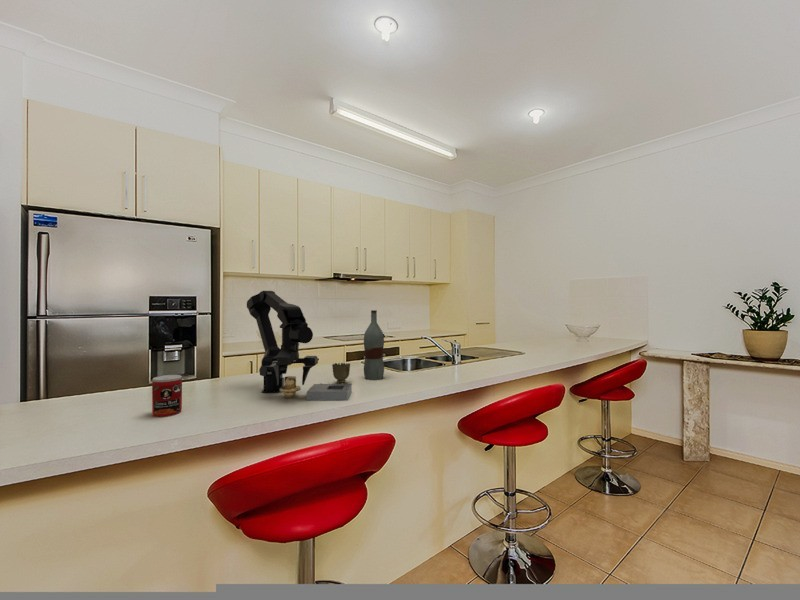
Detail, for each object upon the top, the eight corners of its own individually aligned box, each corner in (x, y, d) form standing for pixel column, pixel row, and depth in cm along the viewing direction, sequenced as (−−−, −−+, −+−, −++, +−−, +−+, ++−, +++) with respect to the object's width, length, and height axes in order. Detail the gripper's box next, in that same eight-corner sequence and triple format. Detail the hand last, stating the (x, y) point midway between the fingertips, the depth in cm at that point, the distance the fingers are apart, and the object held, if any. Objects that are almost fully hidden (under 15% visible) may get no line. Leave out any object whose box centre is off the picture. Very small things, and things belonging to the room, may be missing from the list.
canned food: (150, 418, 108) (150, 380, 108) (153, 411, 115) (154, 376, 115) (181, 415, 112) (181, 378, 112) (182, 408, 119) (182, 373, 119)
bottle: (362, 376, 169) (362, 310, 169) (381, 375, 171) (381, 310, 171) (365, 380, 160) (365, 310, 160) (386, 379, 162) (386, 310, 162)
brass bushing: (276, 399, 129) (276, 379, 129) (283, 394, 137) (283, 375, 137) (297, 399, 130) (297, 379, 130) (302, 394, 137) (302, 375, 137)
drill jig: (306, 400, 128) (306, 391, 128) (314, 391, 140) (314, 383, 140) (347, 400, 128) (347, 391, 128) (351, 391, 140) (351, 383, 140)
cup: (348, 385, 151) (348, 365, 151) (330, 385, 152) (330, 365, 152) (351, 381, 159) (351, 362, 159) (334, 381, 159) (334, 362, 159)
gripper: (255, 343, 125) (255, 390, 125) (311, 343, 125) (311, 390, 125) (267, 340, 136) (266, 383, 136) (318, 340, 136) (318, 382, 136)
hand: (290, 384), depth 133 cm, fingers open, 9 cm apart
